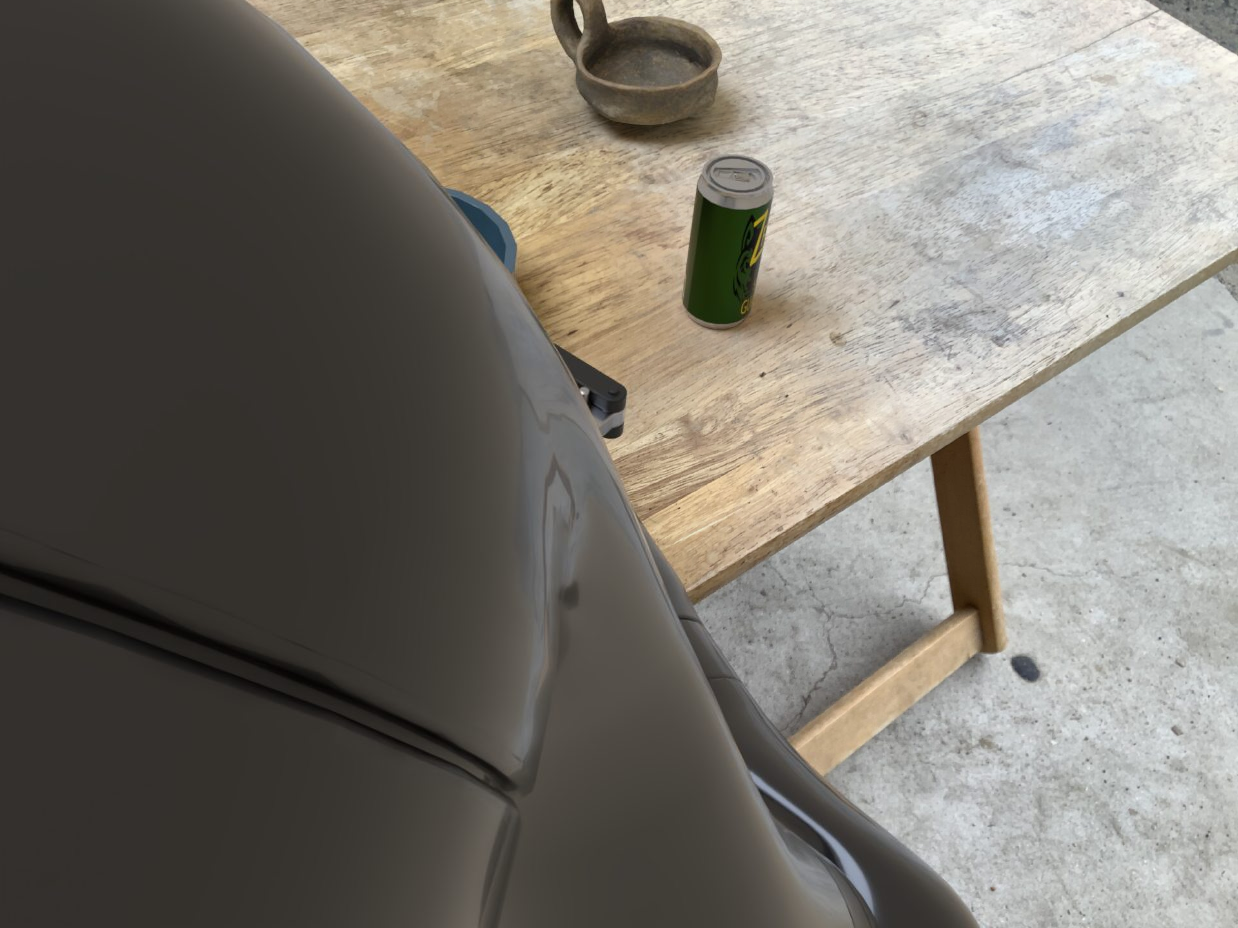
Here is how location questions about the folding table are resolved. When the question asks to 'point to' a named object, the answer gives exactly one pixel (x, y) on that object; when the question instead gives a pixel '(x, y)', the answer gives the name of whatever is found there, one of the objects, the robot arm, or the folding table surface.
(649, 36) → the bowl
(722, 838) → the robot arm
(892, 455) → the folding table surface
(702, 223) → the beer can
